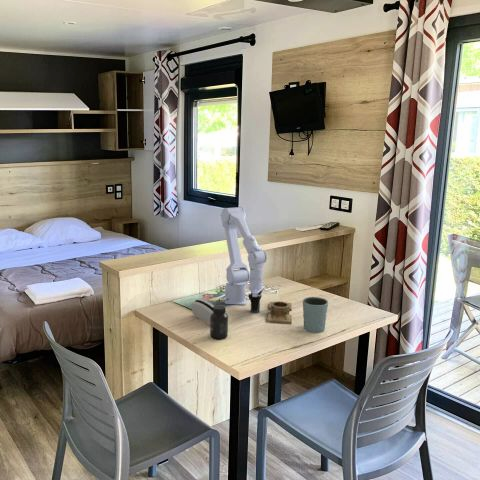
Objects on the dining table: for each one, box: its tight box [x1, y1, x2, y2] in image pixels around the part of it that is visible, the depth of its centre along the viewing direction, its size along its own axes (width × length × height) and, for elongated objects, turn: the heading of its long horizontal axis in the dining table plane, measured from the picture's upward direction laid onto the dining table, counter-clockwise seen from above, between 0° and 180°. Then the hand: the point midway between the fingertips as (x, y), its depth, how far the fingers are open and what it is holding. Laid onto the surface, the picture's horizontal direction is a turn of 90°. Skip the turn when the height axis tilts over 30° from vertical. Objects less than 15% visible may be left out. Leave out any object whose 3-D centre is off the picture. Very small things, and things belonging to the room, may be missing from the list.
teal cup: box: [302, 296, 329, 334], centre depth 198 cm, size 10×10×12 cm
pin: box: [250, 292, 263, 314], centre depth 216 cm, size 5×5×8 cm
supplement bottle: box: [209, 304, 229, 341], centre depth 188 cm, size 7×7×12 cm
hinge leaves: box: [267, 300, 293, 324], centre depth 215 cm, size 10×23×4 cm, turn 174°
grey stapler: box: [190, 298, 215, 325], centre depth 204 cm, size 17×5×10 cm, turn 40°
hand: (255, 307), depth 216 cm, fingers open, 7 cm apart
